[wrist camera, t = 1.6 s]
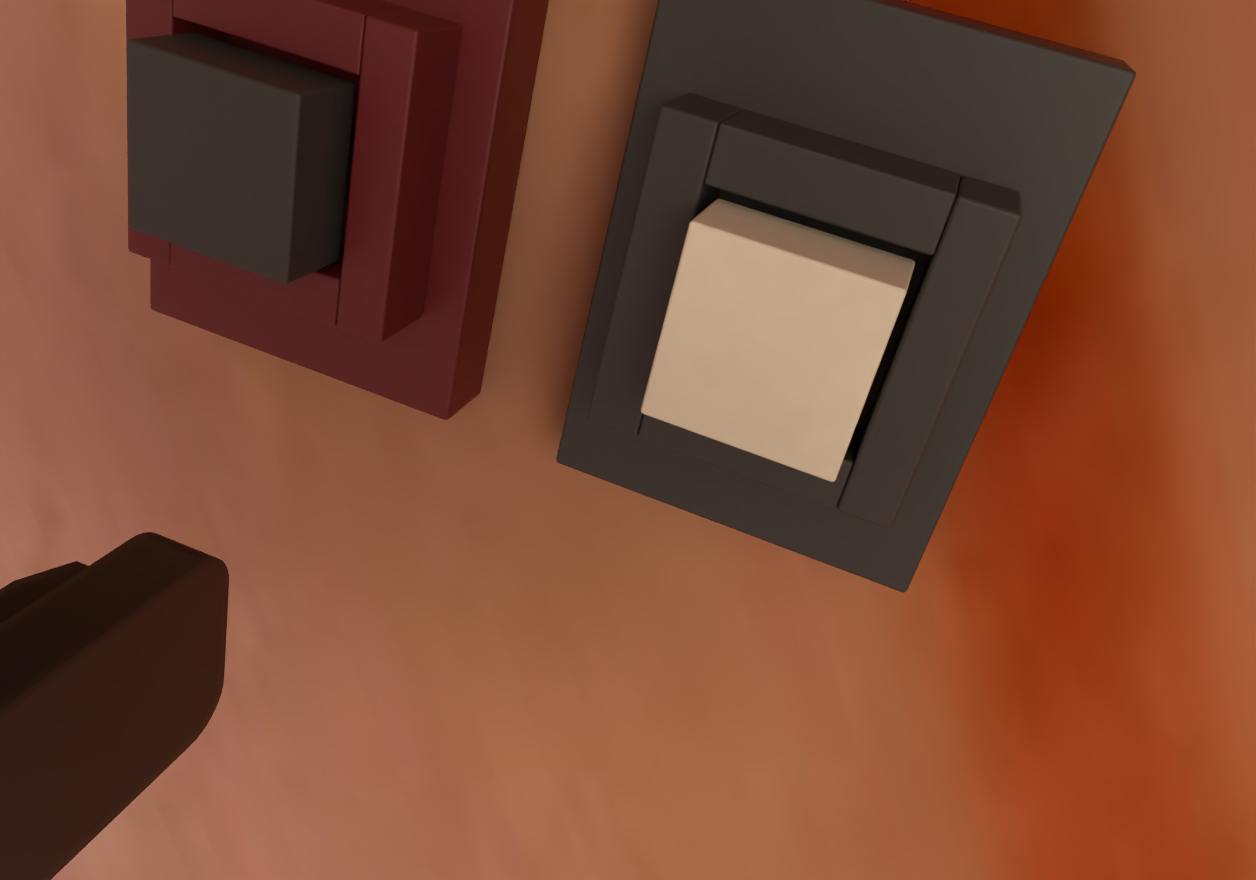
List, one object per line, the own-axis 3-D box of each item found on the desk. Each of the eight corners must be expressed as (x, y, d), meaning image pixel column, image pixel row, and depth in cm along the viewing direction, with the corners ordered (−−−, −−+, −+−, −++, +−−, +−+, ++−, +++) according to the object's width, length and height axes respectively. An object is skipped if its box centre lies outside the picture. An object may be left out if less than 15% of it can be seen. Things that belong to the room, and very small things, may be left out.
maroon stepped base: (210, -188, 24) (77, -211, 21) (566, -91, 23) (486, -99, 19) (198, 289, 30) (92, 333, 26) (481, 393, 28) (408, 455, 25)
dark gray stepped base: (696, -56, 22) (638, -57, 19) (1127, 61, 20) (1151, 83, 17) (582, 430, 28) (522, 499, 24) (912, 552, 26) (897, 643, 23)
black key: (194, 30, 23) (125, 37, 21) (357, 83, 22) (300, 94, 20) (190, 208, 24) (127, 228, 23) (340, 261, 24) (286, 286, 22)
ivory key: (717, 196, 20) (689, 220, 19) (916, 260, 20) (907, 290, 18) (667, 377, 22) (638, 414, 21) (848, 440, 22) (833, 484, 20)
